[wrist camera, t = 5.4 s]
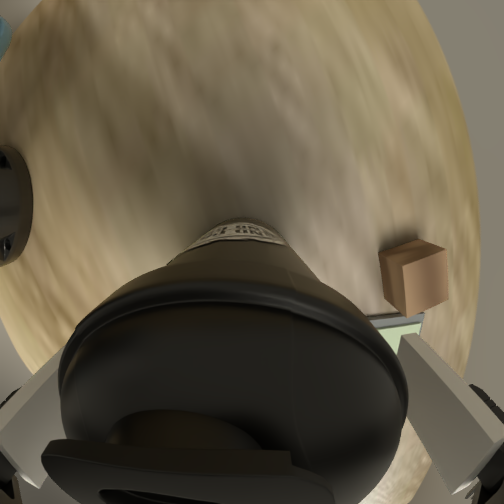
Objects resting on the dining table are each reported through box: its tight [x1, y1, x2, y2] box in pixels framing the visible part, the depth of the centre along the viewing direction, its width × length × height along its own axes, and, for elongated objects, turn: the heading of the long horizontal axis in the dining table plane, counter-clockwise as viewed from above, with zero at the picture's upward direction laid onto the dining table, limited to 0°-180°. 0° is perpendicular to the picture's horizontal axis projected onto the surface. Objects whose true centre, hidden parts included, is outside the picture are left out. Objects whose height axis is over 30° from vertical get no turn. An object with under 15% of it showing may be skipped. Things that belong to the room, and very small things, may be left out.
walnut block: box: [378, 239, 448, 318], centre depth 23 cm, size 5×5×5 cm
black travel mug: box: [41, 218, 409, 504], centre depth 14 cm, size 10×10×23 cm
